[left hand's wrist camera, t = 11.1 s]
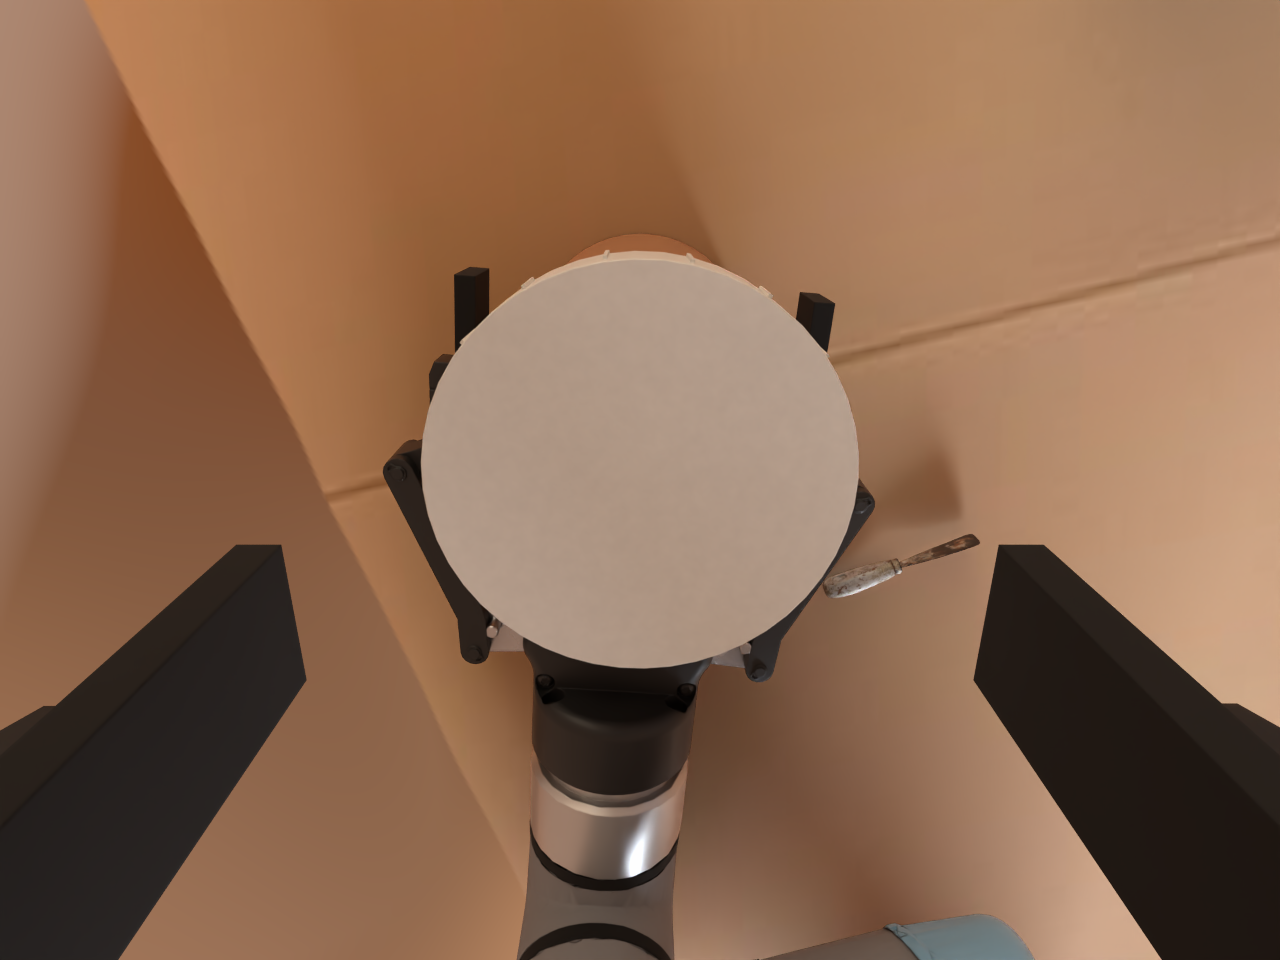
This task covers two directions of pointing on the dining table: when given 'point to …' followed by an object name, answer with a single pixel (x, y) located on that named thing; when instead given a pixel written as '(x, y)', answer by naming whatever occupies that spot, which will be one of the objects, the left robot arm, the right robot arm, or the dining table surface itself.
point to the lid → (639, 460)
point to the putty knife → (889, 568)
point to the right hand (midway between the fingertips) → (645, 283)
